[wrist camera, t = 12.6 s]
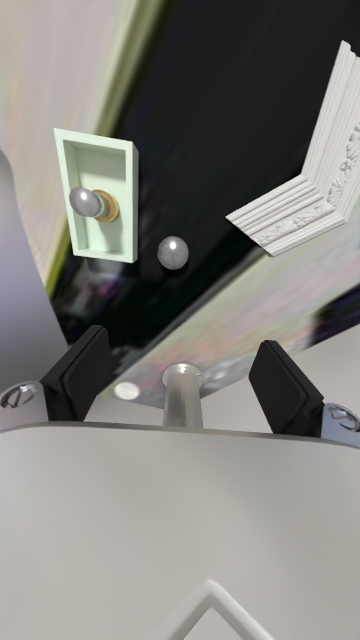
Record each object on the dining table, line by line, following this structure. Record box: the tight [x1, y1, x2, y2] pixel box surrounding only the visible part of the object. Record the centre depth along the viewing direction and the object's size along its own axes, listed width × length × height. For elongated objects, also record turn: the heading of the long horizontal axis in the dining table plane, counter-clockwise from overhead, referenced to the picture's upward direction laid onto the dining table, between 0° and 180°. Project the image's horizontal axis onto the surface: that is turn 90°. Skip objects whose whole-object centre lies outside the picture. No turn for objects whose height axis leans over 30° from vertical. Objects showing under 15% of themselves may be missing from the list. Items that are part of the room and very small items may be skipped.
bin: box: [54, 128, 139, 263], centre depth 30 cm, size 17×11×4 cm, turn 172°
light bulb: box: [69, 187, 120, 222], centre depth 27 cm, size 5×5×9 cm
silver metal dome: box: [158, 236, 188, 269], centre depth 34 cm, size 6×6×2 cm
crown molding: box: [226, 40, 360, 257], centre depth 30 cm, size 24×1×20 cm
